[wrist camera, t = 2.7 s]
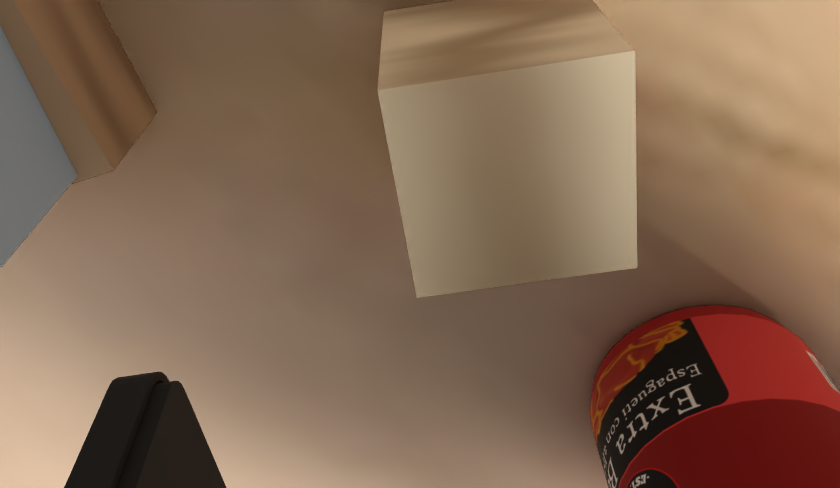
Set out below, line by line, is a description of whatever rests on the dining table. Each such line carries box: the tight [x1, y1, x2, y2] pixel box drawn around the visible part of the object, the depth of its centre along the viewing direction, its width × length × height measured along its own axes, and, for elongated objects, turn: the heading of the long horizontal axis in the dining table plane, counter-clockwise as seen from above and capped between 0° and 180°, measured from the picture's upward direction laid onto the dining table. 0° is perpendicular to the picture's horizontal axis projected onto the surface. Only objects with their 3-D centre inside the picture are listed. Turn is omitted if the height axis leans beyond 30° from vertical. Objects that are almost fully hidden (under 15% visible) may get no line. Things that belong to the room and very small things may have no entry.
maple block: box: [377, 0, 637, 298], centre depth 19 cm, size 5×5×6 cm
